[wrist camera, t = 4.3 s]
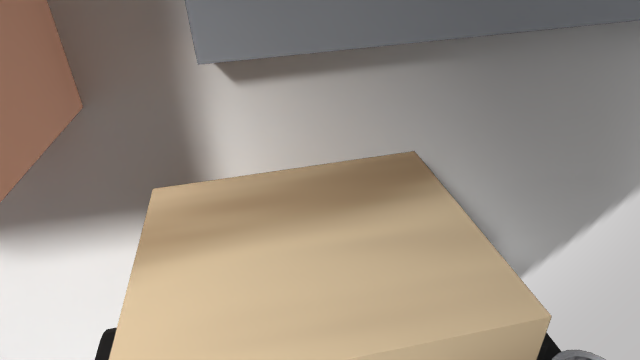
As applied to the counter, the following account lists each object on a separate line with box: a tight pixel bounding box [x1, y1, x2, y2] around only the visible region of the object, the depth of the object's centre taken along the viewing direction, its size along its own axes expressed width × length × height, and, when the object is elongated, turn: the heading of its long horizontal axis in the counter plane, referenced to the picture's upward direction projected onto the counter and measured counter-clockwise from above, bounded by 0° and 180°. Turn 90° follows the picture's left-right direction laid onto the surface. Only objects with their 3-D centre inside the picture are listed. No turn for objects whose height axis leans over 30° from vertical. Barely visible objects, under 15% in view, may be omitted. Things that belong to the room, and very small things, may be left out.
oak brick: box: [109, 151, 551, 360], centre depth 9 cm, size 6×6×5 cm
